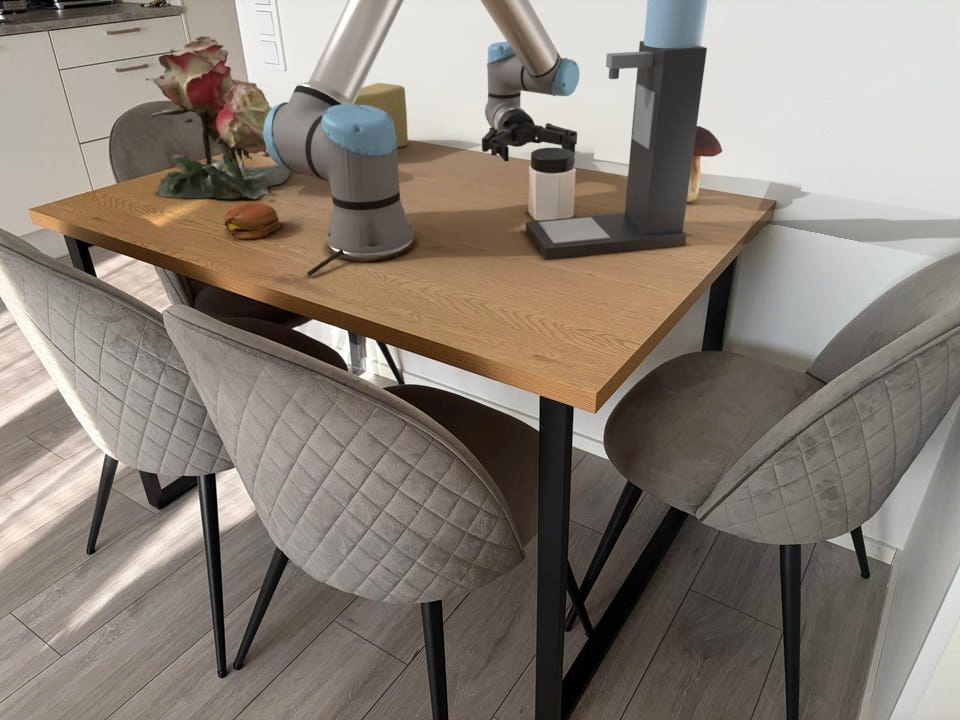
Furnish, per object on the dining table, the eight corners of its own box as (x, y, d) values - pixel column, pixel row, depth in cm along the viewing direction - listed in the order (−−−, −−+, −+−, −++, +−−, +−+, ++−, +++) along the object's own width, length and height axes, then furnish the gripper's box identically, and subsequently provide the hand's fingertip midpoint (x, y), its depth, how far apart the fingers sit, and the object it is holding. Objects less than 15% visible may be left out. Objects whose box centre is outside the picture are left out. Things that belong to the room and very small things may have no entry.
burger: (284, 221, 142) (280, 198, 140) (273, 239, 134) (268, 215, 132) (234, 222, 142) (229, 199, 140) (219, 240, 134) (214, 216, 132)
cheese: (351, 167, 172) (343, 101, 164) (321, 161, 176) (312, 97, 169) (410, 145, 187) (406, 84, 179) (381, 140, 192) (376, 80, 184)
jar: (578, 220, 139) (581, 158, 133) (537, 224, 138) (538, 161, 132) (563, 205, 147) (566, 145, 141) (524, 209, 145) (525, 148, 139)
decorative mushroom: (718, 197, 149) (729, 121, 141) (708, 214, 141) (720, 135, 133) (664, 190, 153) (673, 117, 145) (652, 207, 145) (660, 130, 137)
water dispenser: (544, 259, 124) (553, -43, 101) (525, 232, 135) (529, -47, 111) (690, 244, 128) (731, -49, 105) (660, 219, 139) (691, -52, 116)
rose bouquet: (275, 202, 152) (248, 46, 136) (145, 197, 156) (105, 46, 140) (317, 166, 173) (299, 28, 157) (202, 163, 177) (173, 28, 162)
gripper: (567, 138, 166) (599, 165, 148) (459, 147, 162) (478, 175, 144) (568, 104, 162) (601, 127, 144) (458, 112, 158) (477, 137, 140)
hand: (540, 151), depth 144 cm, fingers open, 13 cm apart
